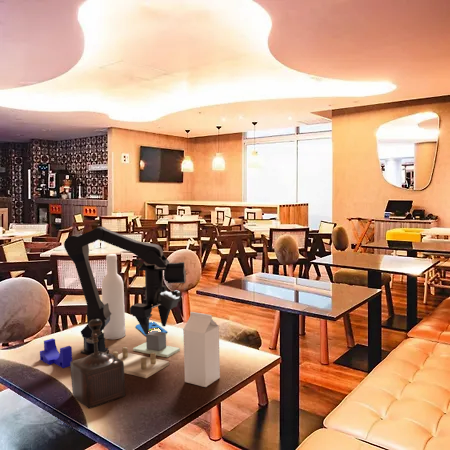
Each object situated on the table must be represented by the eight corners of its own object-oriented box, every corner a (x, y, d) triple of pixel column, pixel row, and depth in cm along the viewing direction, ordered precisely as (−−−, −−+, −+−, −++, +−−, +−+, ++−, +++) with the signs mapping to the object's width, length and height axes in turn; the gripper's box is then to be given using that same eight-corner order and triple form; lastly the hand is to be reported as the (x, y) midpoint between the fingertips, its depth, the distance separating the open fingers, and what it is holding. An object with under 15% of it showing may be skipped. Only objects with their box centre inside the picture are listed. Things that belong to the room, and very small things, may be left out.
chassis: (99, 367, 137) (98, 354, 137) (124, 354, 146) (123, 342, 146) (146, 378, 128) (145, 364, 128) (169, 364, 138) (168, 351, 137)
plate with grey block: (167, 358, 144) (166, 339, 143) (133, 351, 150) (132, 333, 150) (180, 351, 150) (179, 333, 149) (146, 345, 157) (145, 327, 156)
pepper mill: (128, 395, 118) (126, 327, 116) (88, 409, 111) (84, 337, 109) (101, 377, 129) (99, 315, 128) (63, 389, 122) (60, 324, 121)
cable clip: (40, 360, 144) (39, 342, 143) (53, 356, 147) (52, 338, 146) (58, 370, 135) (57, 350, 135) (72, 365, 139) (71, 346, 138)
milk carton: (205, 388, 121) (204, 318, 120) (184, 382, 125) (182, 315, 123) (220, 378, 127) (218, 312, 126) (199, 373, 131) (197, 308, 129)
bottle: (116, 340, 160) (112, 256, 158) (98, 338, 164) (95, 255, 161) (130, 334, 167) (127, 253, 165) (113, 331, 171) (109, 252, 168)
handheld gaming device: (154, 320, 181) (167, 331, 168) (154, 323, 181) (167, 333, 168) (133, 324, 177) (146, 334, 164) (134, 327, 177) (146, 337, 164)
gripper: (156, 291, 136) (157, 342, 137) (190, 280, 152) (191, 325, 154) (127, 288, 142) (129, 337, 143) (163, 277, 158) (164, 321, 159)
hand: (155, 330), depth 149 cm, fingers open, 9 cm apart
